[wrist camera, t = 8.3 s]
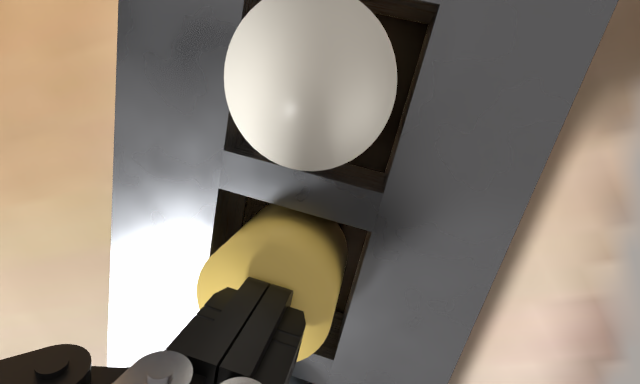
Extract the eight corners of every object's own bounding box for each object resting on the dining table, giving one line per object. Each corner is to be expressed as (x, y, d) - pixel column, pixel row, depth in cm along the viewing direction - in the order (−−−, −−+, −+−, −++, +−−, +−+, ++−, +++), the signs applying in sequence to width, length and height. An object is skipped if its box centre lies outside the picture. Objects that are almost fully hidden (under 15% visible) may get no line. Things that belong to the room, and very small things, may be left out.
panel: (144, 390, 20) (104, 438, 17) (182, -96, 13) (123, -149, 10) (377, 476, 19) (375, 545, 16) (580, -22, 11) (645, -61, 8)
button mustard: (239, 278, 16) (189, 339, 12) (254, 187, 15) (204, 222, 11) (333, 308, 16) (314, 382, 12) (359, 216, 14) (348, 265, 10)
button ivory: (264, 131, 14) (214, 147, 10) (285, 7, 12) (236, -32, 8) (375, 160, 13) (369, 190, 9) (411, 34, 12) (421, 5, 8)
